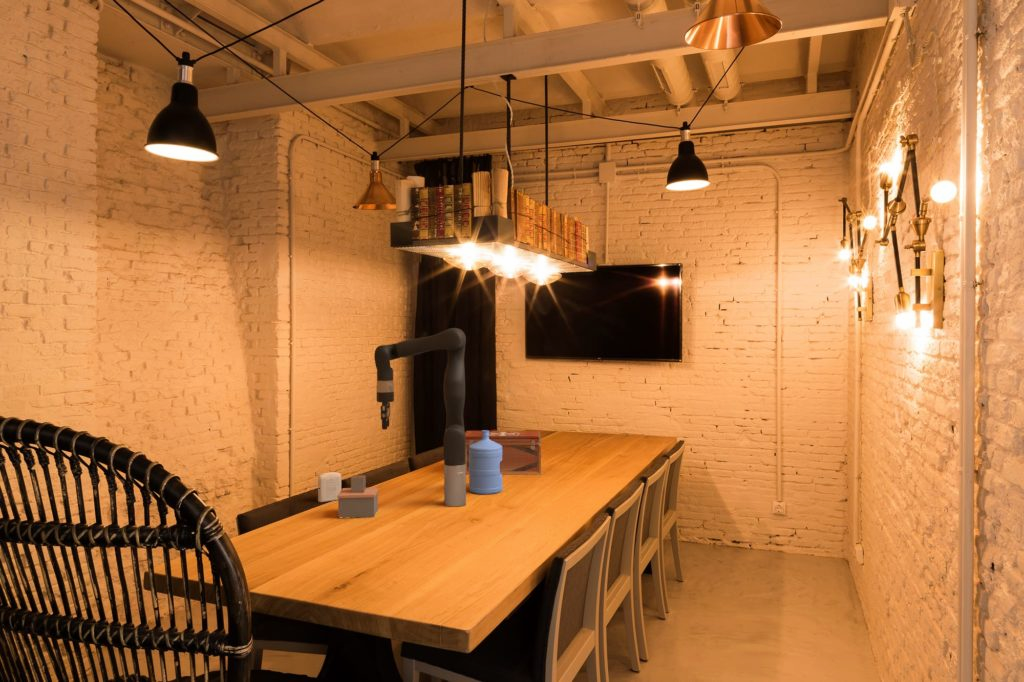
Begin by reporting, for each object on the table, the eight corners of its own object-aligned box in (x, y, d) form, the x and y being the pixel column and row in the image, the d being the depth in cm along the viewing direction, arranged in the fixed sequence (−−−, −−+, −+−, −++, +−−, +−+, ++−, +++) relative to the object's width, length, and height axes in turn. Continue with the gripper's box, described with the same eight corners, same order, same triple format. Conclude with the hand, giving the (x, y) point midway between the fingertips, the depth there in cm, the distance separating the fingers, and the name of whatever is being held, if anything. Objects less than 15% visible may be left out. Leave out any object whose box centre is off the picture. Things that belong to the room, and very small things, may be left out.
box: (377, 509, 284) (377, 490, 283) (374, 517, 272) (374, 497, 271) (343, 510, 283) (343, 491, 282) (338, 518, 271) (338, 498, 270)
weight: (365, 489, 279) (365, 475, 279) (363, 492, 274) (363, 477, 274) (353, 489, 279) (353, 475, 279) (351, 492, 274) (350, 478, 274)
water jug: (483, 496, 305) (482, 434, 304) (462, 490, 317) (461, 430, 316) (509, 491, 315) (509, 430, 315) (488, 485, 327) (487, 427, 327)
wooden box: (541, 475, 350) (541, 436, 350) (462, 475, 351) (462, 436, 351) (541, 467, 371) (540, 430, 370) (466, 467, 372) (465, 430, 371)
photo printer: (339, 497, 304) (339, 470, 304) (342, 499, 301) (342, 471, 301) (316, 501, 299) (316, 473, 299) (319, 503, 295) (319, 474, 295)
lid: (378, 489, 283) (378, 487, 283) (374, 497, 271) (374, 494, 271) (342, 490, 282) (342, 488, 282) (337, 498, 270) (337, 495, 270)
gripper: (392, 392, 290) (392, 430, 290) (395, 389, 304) (395, 425, 305) (374, 392, 289) (374, 430, 290) (378, 389, 304) (378, 425, 304)
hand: (385, 427), depth 297 cm, fingers open, 8 cm apart
